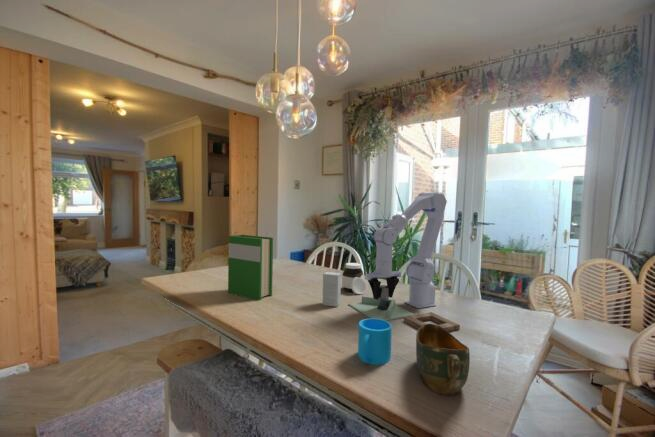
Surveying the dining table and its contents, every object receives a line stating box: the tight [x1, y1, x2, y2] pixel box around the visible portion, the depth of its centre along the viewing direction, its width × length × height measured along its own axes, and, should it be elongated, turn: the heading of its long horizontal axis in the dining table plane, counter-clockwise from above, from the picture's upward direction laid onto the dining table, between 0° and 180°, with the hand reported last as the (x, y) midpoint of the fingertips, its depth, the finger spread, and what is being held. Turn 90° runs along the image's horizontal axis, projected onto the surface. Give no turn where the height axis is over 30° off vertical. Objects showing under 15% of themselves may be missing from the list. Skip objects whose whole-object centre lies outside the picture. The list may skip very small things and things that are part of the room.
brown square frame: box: [403, 311, 461, 333], centre depth 98 cm, size 12×12×2 cm
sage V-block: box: [348, 295, 416, 322], centre depth 111 cm, size 16×19×3 cm
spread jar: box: [341, 262, 367, 295], centre depth 135 cm, size 12×11×12 cm
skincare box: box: [322, 271, 342, 308], centre depth 116 cm, size 6×4×12 cm
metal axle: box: [377, 284, 390, 310], centre depth 111 cm, size 4×4×8 cm
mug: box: [357, 318, 393, 366], centre depth 75 cm, size 12×8×8 cm
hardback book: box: [227, 234, 274, 301], centre depth 126 cm, size 18×7×24 cm, turn 59°
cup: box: [415, 323, 471, 396], centre depth 67 cm, size 13×20×10 cm, turn 146°
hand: (382, 297), depth 111 cm, fingers open, 6 cm apart
